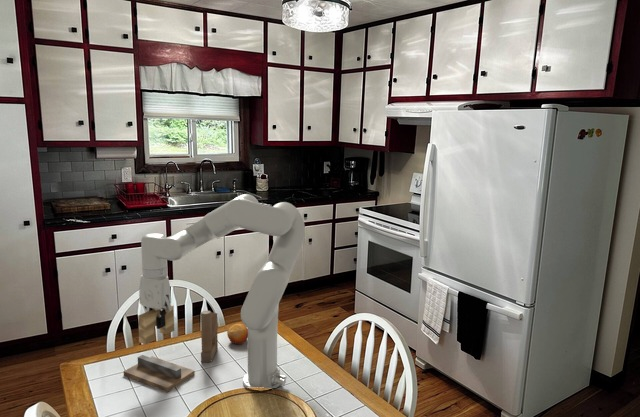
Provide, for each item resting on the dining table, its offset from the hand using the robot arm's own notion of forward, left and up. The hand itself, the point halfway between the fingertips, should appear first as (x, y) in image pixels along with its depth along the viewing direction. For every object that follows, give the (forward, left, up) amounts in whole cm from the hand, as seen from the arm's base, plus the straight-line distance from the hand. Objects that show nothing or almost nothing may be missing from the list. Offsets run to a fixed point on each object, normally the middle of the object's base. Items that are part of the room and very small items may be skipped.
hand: (156, 325), depth 151 cm
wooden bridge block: (0, 0, -4) cm, 4 cm away
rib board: (0, 0, -18) cm, 18 cm away
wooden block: (-5, -19, -18) cm, 27 cm away
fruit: (-7, -33, -18) cm, 38 cm away
